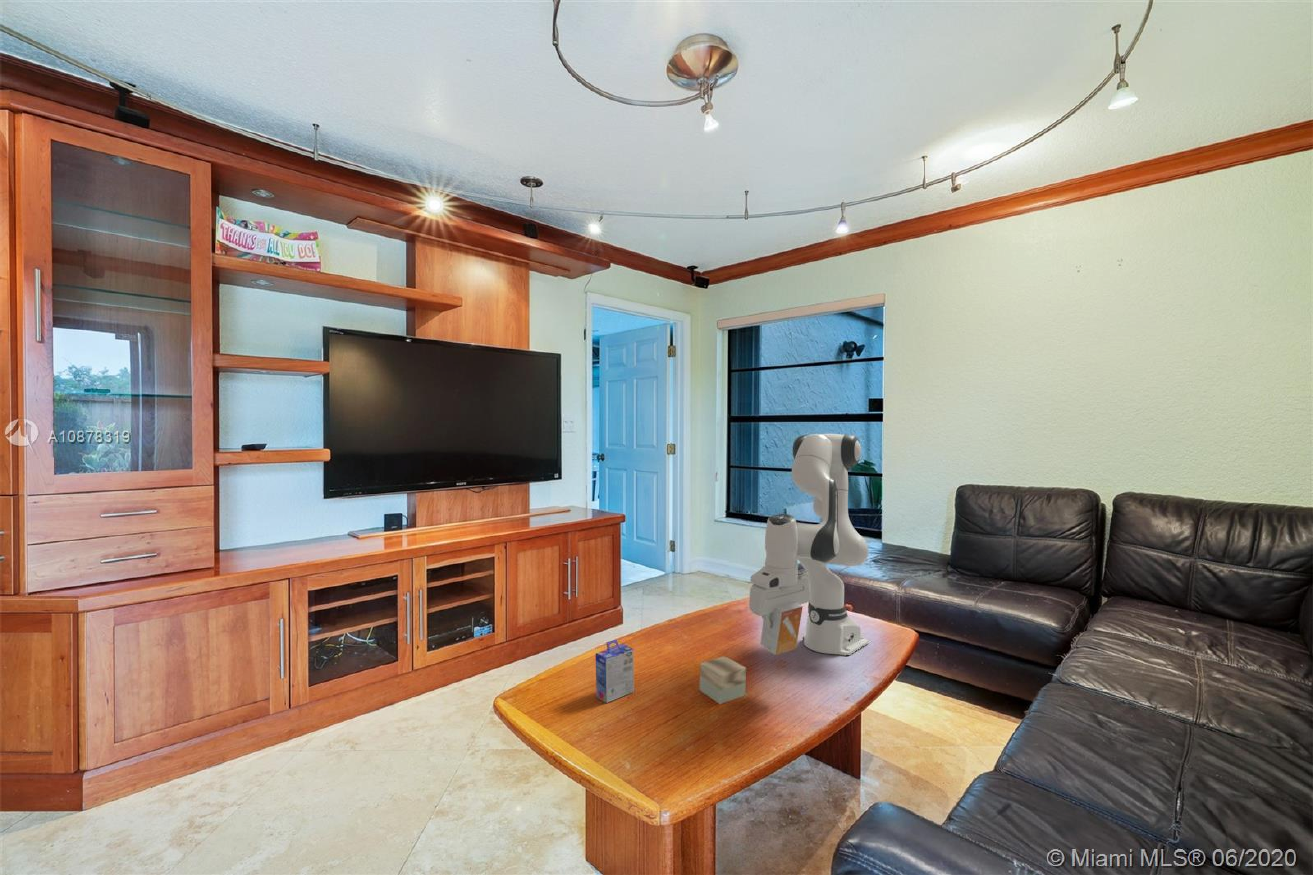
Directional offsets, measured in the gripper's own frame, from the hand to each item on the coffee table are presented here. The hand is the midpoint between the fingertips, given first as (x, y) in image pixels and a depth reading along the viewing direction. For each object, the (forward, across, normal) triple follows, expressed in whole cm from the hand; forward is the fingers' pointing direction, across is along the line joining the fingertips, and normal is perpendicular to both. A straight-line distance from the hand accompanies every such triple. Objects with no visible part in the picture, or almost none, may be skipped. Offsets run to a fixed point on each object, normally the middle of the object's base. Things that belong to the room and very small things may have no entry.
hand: (780, 623), depth 151 cm
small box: (+7, 0, -1) cm, 7 cm away
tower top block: (+16, +13, -10) cm, 23 cm away
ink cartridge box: (+20, +39, -25) cm, 50 cm away
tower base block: (+20, +13, -10) cm, 26 cm away
